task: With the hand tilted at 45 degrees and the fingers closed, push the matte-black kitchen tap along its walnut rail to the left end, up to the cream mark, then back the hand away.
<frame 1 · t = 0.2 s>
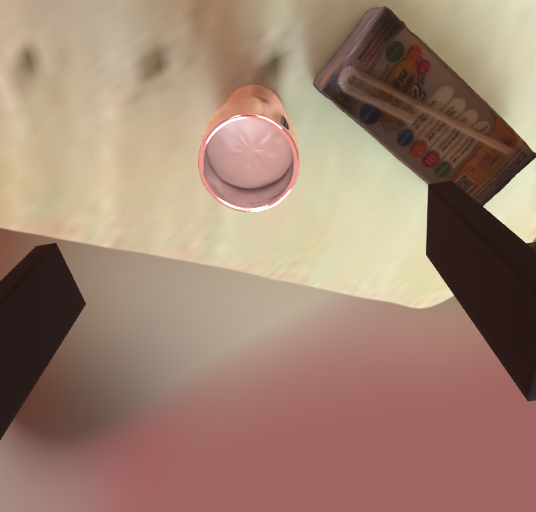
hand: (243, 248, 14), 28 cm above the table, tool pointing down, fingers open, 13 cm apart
beverage carton: (410, 111, 39), on the table
beer glass: (253, 117, 39), on the table
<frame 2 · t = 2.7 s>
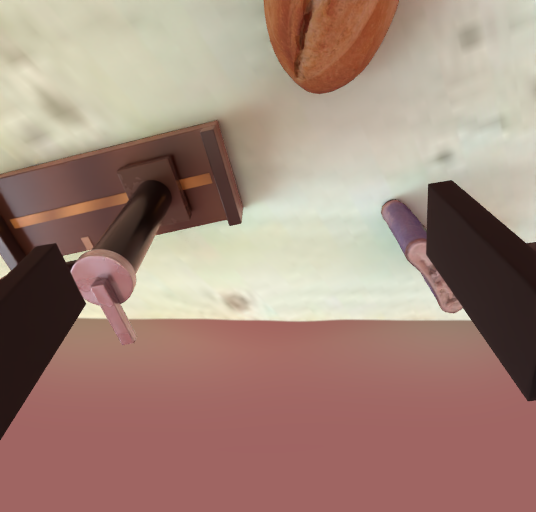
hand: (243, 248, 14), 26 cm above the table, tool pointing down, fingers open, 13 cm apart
tap: (104, 245, 32), point 10 cm above the table, slide at 0.0 cm
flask: (408, 231, 43), on the table
rail: (115, 193, 40), on the table
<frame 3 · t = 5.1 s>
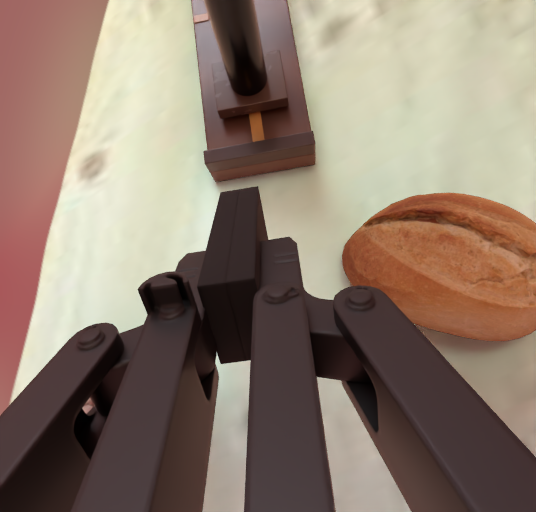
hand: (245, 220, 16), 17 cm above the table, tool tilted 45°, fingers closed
rail: (248, 60, 39), on the table
bread roll: (435, 275, 32), on the table
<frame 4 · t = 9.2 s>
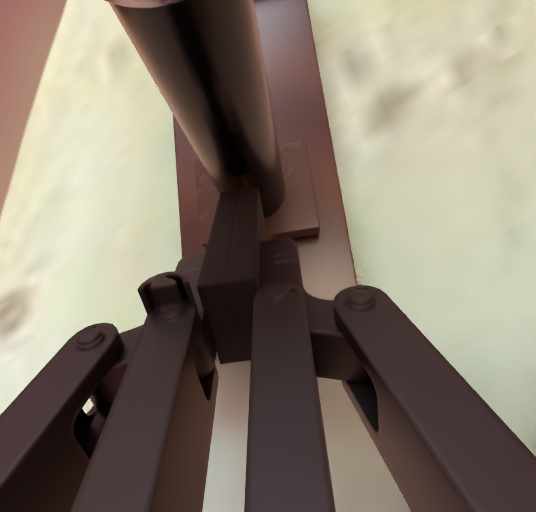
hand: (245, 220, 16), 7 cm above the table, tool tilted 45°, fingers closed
tap: (199, 54, 15), point 10 cm above the table, slide at 0.7 cm, touching gripper
rail: (255, 150, 25), on the table
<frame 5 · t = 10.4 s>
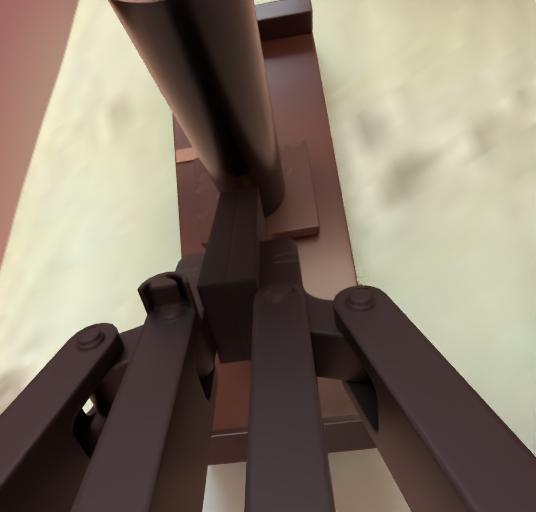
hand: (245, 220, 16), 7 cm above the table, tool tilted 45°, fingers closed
tap: (198, 52, 15), point 10 cm above the table, slide at 5.4 cm, touching gripper
rail: (263, 222, 24), on the table
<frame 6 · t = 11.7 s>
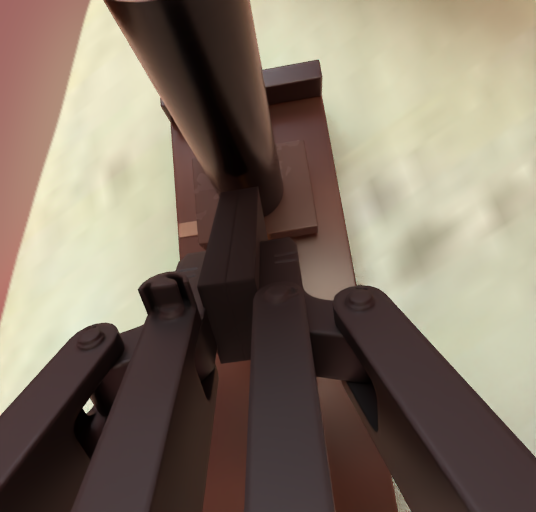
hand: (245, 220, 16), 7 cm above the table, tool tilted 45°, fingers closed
tap: (195, 52, 15), point 10 cm above the table, slide at 10.0 cm, touching gripper
rail: (271, 297, 23), on the table
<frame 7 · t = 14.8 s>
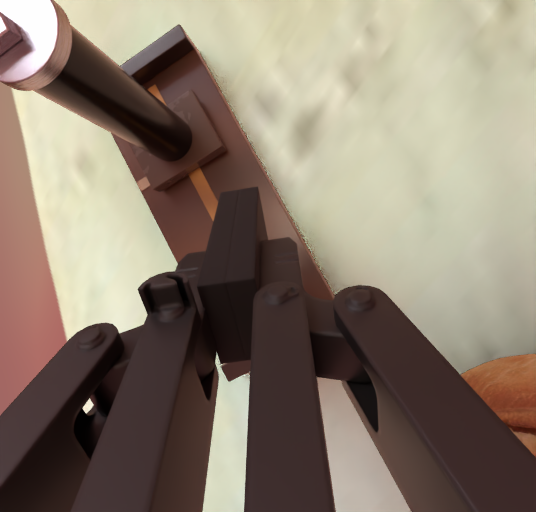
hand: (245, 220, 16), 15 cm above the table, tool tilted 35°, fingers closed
tap: (87, 71, 23), point 10 cm above the table, slide at 10.0 cm
rail: (219, 206, 32), on the table
bread roll: (527, 409, 28), on the table
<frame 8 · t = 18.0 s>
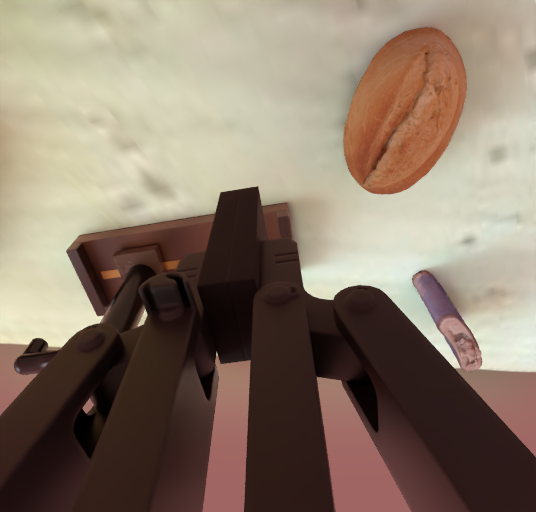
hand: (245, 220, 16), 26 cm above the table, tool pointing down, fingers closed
tap: (100, 324, 40), point 10 cm above the table, slide at 10.0 cm
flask: (432, 295, 51), on the table
rail: (191, 253, 48), on the table
bread roll: (388, 111, 40), on the table
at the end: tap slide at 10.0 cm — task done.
